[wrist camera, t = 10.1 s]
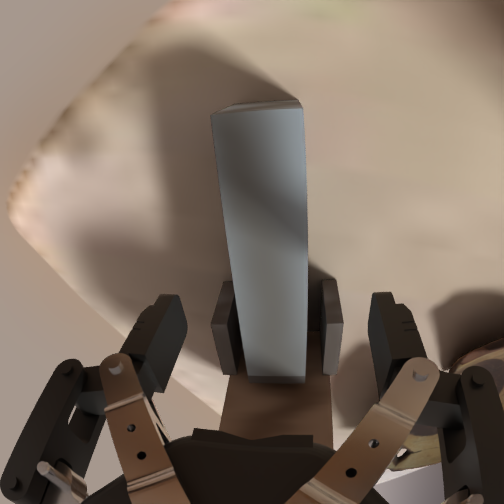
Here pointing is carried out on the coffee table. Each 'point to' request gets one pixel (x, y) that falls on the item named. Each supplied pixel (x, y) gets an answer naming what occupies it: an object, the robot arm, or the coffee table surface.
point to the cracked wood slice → (426, 437)
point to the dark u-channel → (274, 394)
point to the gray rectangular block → (266, 232)
